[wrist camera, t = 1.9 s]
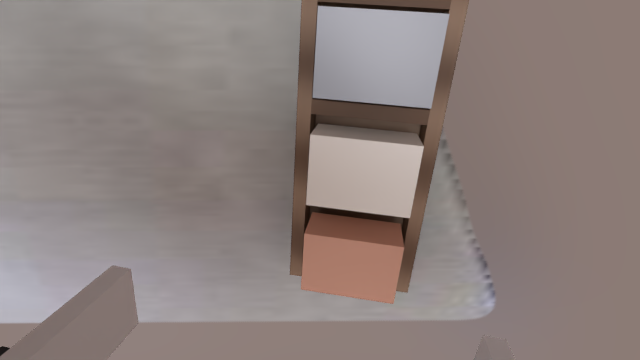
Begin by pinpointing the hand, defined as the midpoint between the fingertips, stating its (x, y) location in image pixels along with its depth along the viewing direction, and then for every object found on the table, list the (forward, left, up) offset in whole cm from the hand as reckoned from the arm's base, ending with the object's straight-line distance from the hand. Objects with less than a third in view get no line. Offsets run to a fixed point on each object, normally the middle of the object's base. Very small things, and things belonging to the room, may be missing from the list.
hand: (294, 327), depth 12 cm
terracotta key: (+5, +2, -14) cm, 14 cm away
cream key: (-2, +2, -13) cm, 14 cm away
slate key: (-9, +2, -14) cm, 17 cm away
